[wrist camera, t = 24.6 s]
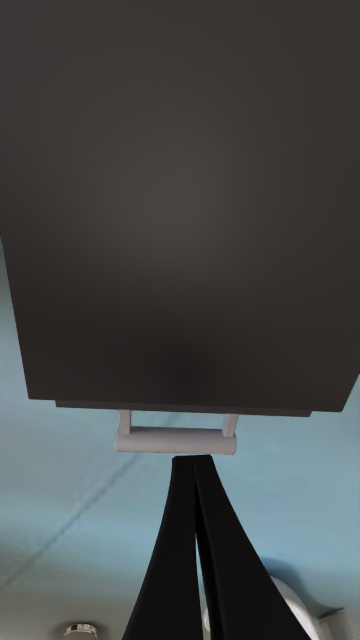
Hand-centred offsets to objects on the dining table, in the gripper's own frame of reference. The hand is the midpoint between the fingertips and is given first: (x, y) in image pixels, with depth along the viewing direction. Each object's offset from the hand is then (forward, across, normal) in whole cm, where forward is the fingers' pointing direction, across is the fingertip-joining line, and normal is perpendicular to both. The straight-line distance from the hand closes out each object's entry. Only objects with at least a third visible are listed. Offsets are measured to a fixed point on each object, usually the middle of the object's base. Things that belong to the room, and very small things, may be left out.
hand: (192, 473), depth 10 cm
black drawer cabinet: (+10, -1, -9) cm, 14 cm away
